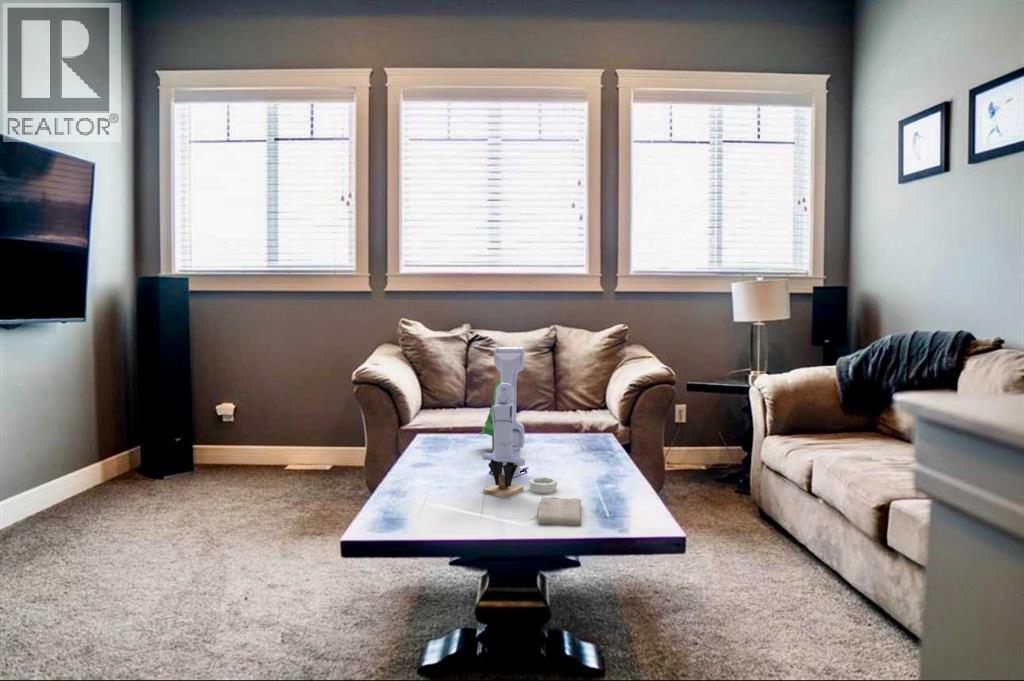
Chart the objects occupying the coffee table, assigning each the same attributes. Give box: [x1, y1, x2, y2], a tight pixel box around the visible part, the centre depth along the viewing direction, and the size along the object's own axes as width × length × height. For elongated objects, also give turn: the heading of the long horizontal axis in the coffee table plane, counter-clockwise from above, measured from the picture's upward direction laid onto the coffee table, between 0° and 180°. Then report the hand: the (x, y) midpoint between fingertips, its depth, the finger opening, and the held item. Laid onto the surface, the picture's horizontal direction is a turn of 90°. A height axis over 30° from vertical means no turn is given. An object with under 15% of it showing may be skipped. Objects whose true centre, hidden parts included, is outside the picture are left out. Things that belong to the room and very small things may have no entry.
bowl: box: [528, 476, 558, 494], centre depth 201 cm, size 8×8×3 cm
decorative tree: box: [479, 375, 516, 451], centre depth 255 cm, size 14×16×30 cm
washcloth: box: [537, 496, 582, 526], centre depth 179 cm, size 12×18×3 cm, turn 175°
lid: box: [482, 474, 524, 499], centre depth 198 cm, size 9×9×5 cm
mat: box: [478, 489, 529, 500], centre depth 198 cm, size 12×10×1 cm
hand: (503, 485), depth 198 cm, fingers closed on lid, 3 cm apart
